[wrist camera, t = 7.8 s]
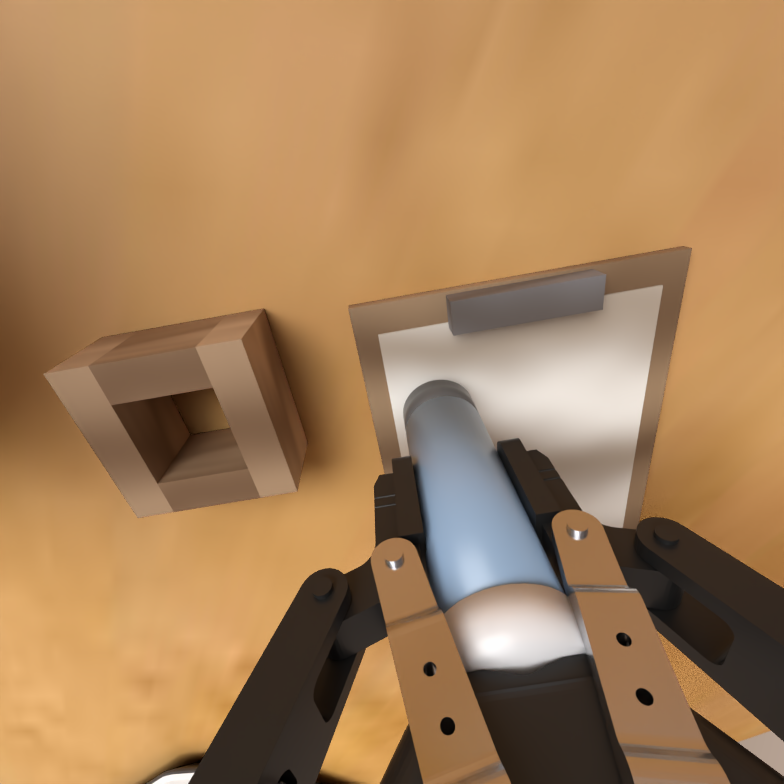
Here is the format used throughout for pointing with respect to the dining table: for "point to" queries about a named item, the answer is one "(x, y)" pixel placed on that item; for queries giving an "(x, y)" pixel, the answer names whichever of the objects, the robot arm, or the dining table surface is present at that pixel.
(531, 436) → the clipboard
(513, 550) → the marker
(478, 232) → the dining table surface
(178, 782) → the plate
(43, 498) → the dining table surface
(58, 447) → the dining table surface
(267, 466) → the pen block
